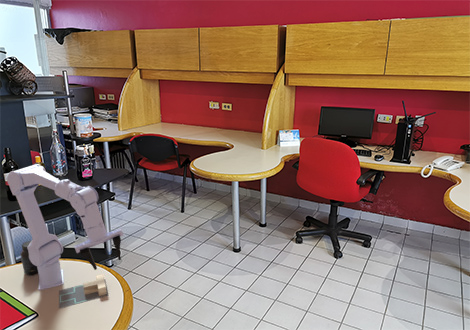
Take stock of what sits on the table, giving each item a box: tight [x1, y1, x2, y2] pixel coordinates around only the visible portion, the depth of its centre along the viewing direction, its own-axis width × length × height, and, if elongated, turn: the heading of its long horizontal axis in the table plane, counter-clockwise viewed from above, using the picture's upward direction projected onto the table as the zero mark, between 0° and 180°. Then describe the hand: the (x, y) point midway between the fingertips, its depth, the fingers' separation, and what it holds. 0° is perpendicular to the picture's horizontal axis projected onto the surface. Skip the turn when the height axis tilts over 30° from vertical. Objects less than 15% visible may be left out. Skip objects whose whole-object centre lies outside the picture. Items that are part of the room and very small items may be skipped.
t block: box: [82, 273, 107, 296], centre depth 123 cm, size 8×7×3 cm
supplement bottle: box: [20, 240, 39, 277], centre depth 132 cm, size 7×7×12 cm
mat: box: [58, 278, 109, 310], centre depth 122 cm, size 10×16×1 cm, turn 116°
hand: (107, 263), depth 112 cm, fingers open, 7 cm apart
